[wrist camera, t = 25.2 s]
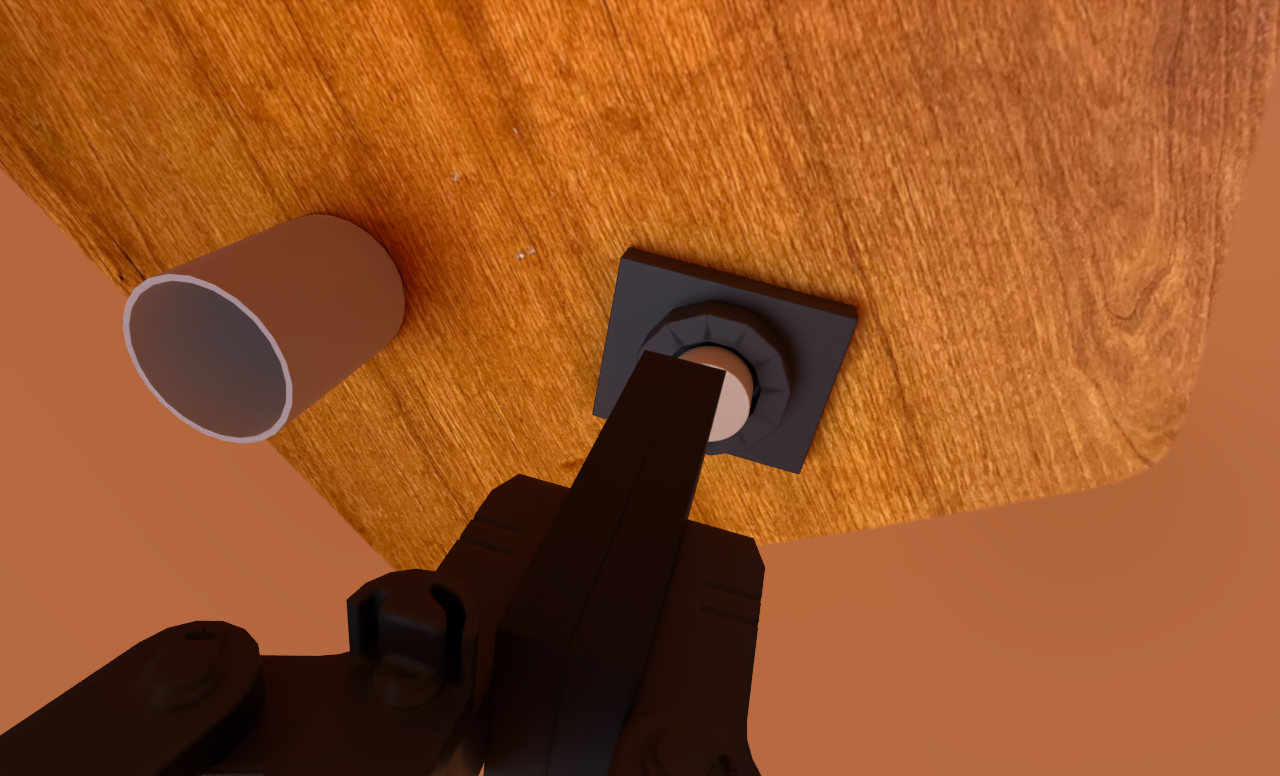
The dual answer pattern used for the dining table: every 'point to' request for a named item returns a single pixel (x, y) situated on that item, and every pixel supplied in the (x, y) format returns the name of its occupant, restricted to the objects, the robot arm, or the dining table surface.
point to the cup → (264, 325)
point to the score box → (731, 346)
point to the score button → (726, 388)
